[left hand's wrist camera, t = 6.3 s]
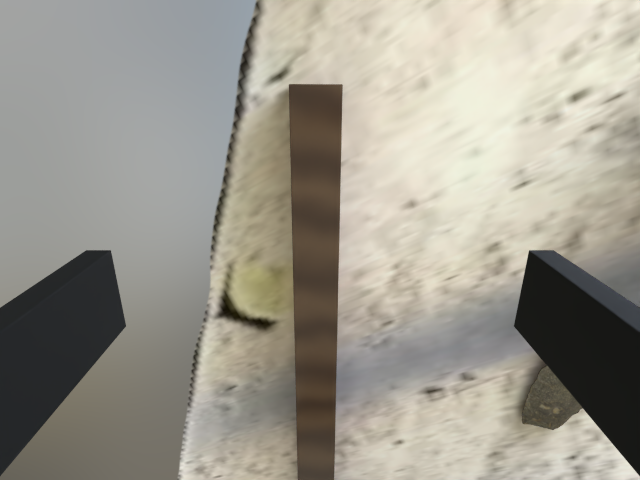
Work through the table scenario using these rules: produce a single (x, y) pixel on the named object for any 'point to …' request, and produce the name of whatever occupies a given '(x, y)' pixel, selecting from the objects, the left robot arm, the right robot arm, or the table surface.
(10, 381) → the left robot arm
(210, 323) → the table surface
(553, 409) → the stone tool
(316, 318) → the beam
